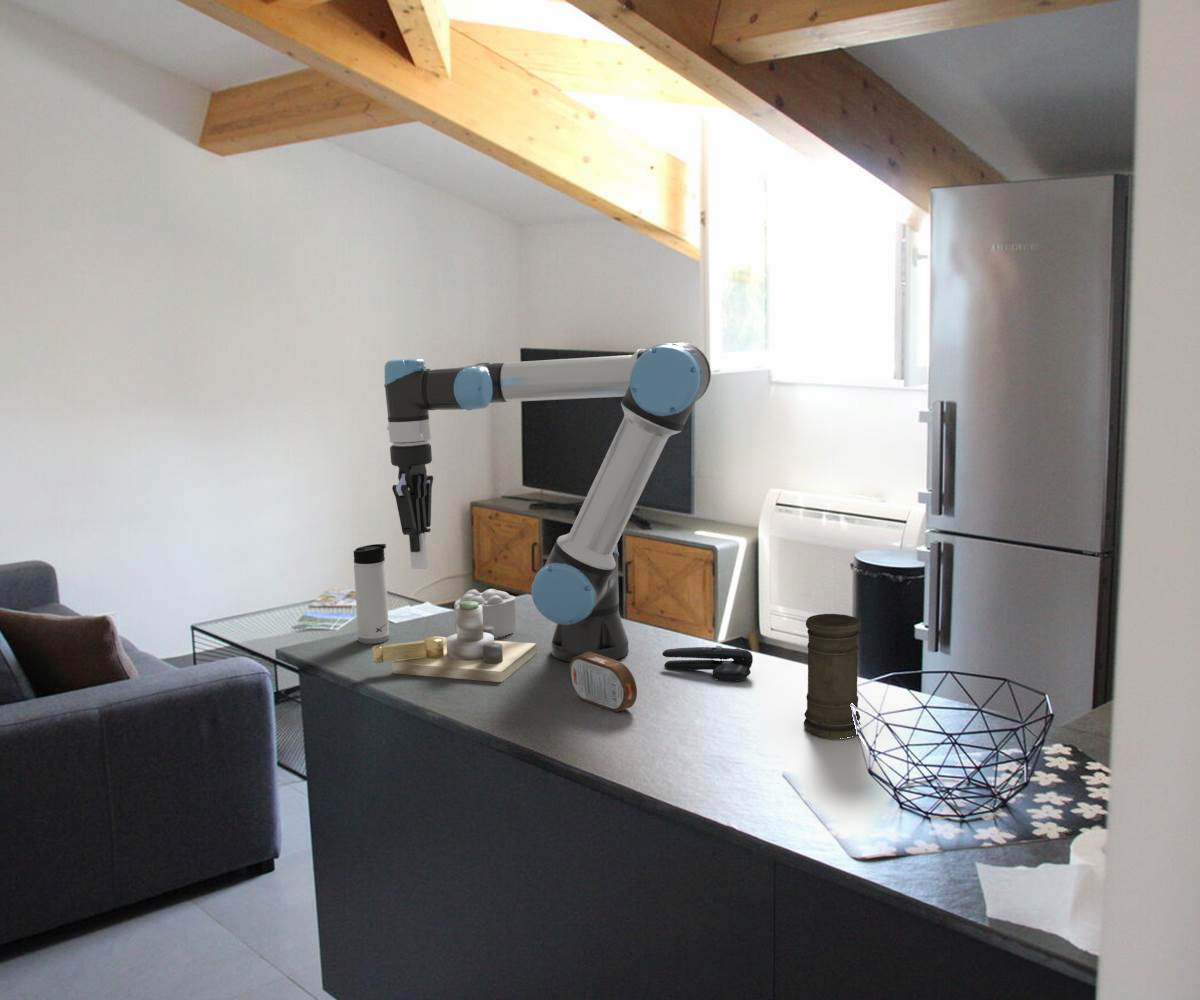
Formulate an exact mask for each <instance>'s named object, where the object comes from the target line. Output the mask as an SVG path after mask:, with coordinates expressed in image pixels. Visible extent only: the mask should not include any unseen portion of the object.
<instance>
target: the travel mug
mask: <svg viewBox="0 0 1200 1000" xmlns="http://www.w3.org/2000/svg"><path fill="white" fill-rule="evenodd" d="M386 548H387V545H386V543H377V544H375V543H374V544H368V545H363V546H359V547H357V548H355V549H354V550H353V568H354V569H353V571H354V587H355V588H354V589H355V603H356V604H355V608H356V621H357V633H358V634H357V640H358V642H359V643H361V644H365V645H366V644H367V645H375V644H382V643H385V642H388V640H390V631H389V630H390V623H389V610H388V609H389V608H388V605H389V604H388V592H387V591H388V590H387V588H388V587H387V573H386V572H387V571H386V570H387V569H386V558H385V549H386Z"/></svg>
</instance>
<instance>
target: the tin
mask: <svg viewBox="0 0 1200 1000" xmlns="http://www.w3.org/2000/svg"><path fill="white" fill-rule="evenodd" d="M568 671H569V680H570V685H571V688H572V689H573V691H574V692H575V694H576V695H577V696H578V697H579V698H580V699H581V700H583V701H585V702H587V703H590V704H592V705H595V706H598V707H600V708H603V709H605V710H608V711H611V712H615V713H616V712H618V713H619V712H622V711H624V710H626V709H630V708H632V707H633V706H634V705H635V703H636V701H637V696H638V688H637V683H636V680H635V678H634V676H633V673H632V672H631V671H630V669H629V668H628V667H627V666H626V665H625V664H624V663H622V662H620V661H618V660H613V659H610V658H607V657H604V656H601V655H598V654H596V653H593V652H585V653H583V654H581V655H578V656H576V657H575V658H573V659H572V661H571V662H569V670H568Z"/></svg>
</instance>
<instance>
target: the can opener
mask: <svg viewBox="0 0 1200 1000" xmlns="http://www.w3.org/2000/svg"><path fill="white" fill-rule="evenodd" d="M661 654H662V656H663V657H665V658H680V659H676V660H668V661H665V664H664V668H665V669H668V670H675V671H697V670H698V671H703V670H706V671H707V670H708V671H709V670H712V673H711V677H712V678H713V679H715V680H716V681H718V682H719V681H720V682H727V683H728V682H730V683H733V682H734V683H735V682H741V681H744V680H745V679H747V677H749V675H750V674H751V670H750V669H751V667H752V664H753V661H754V659H753V653H751V651H749V650H746V649H743V648H742V649H741V648H738V647H737V648H731V647H730V648H729V647H723V646H721V645H716V646H713V647H712V646H711V647H710V646H696V647H695V646H694V647H693V646H691V647H679V648H667V649H665V650H663V652H662V653H661ZM681 658H683V659H681ZM689 658H690V659H689ZM730 659H732V660H730Z"/></svg>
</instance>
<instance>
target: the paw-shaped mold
mask: <svg viewBox="0 0 1200 1000" xmlns="http://www.w3.org/2000/svg"><path fill="white" fill-rule="evenodd" d="M465 601H475V602H478V605H481V606H482V614H483V626H492V627H494V638H496V639H499V638H498V637H500V638H503V637H502V636H504V637H506V636H505V635H507V636H509V635H508V634H510V635H512V634H511V633H513V634H515V633H517V632H518V620H517V619H518V616H517V615H518V613H517V610H518V609H517V598H516V596H515V595H511V594H509V593H508V592H506V591H503V590H497V589H495V588H489V589H486V590H484V591H483V592H480V591H478V590H477V589H474V588H473V589H470V590H468V591H467V592H465V594H464V595H463V596H461V597H460V598H459V599H456V600H455V602H454V604H453V605H454V608H453V609H454V627H455V628H454V629H455V633H454V634H457V626H456V607H458V606H459V604H460V603H461V602H465ZM516 631H517V632H516ZM514 632H515V633H514Z"/></svg>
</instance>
